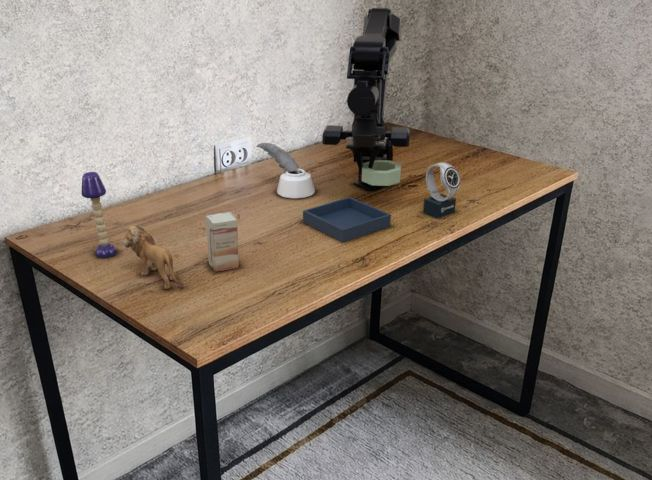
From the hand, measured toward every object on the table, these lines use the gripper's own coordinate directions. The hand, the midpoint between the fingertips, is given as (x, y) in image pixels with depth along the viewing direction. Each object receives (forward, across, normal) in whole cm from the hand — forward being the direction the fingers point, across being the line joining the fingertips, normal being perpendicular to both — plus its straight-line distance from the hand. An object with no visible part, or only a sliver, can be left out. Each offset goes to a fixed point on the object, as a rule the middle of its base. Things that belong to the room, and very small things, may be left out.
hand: (365, 174), depth 172 cm
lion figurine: (+7, -37, -42) cm, 56 cm away
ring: (+1, +4, 0) cm, 4 cm away
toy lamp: (+7, -50, -32) cm, 60 cm away
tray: (+7, -3, -12) cm, 14 cm away
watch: (+7, +17, -3) cm, 19 cm away
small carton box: (+7, -25, -35) cm, 44 cm away
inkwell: (+7, -20, +9) cm, 23 cm away
